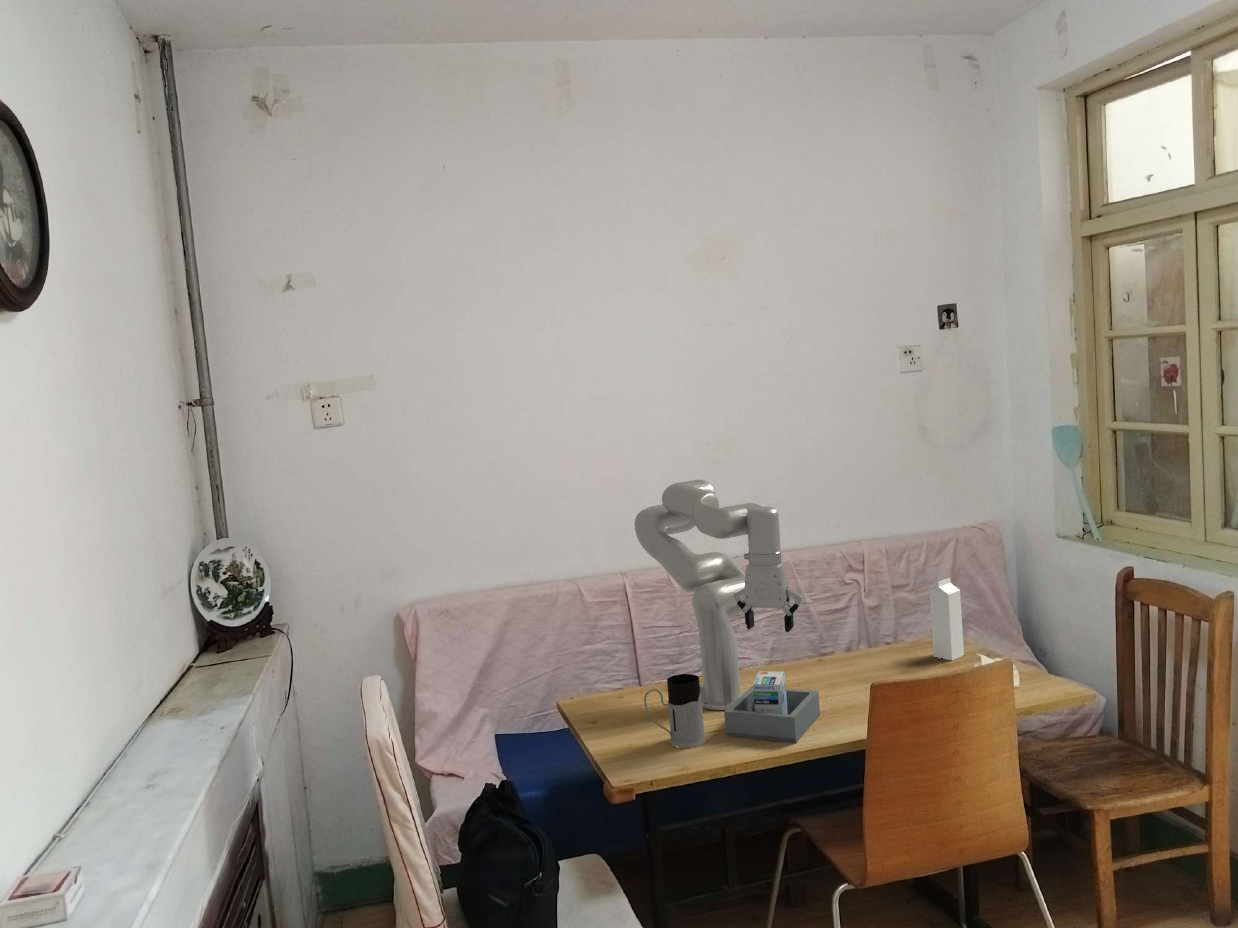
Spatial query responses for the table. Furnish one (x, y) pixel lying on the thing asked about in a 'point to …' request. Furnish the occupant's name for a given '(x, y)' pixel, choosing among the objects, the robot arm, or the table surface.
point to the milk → (946, 621)
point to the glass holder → (683, 711)
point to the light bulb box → (770, 692)
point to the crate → (773, 717)
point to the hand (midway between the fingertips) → (769, 629)
